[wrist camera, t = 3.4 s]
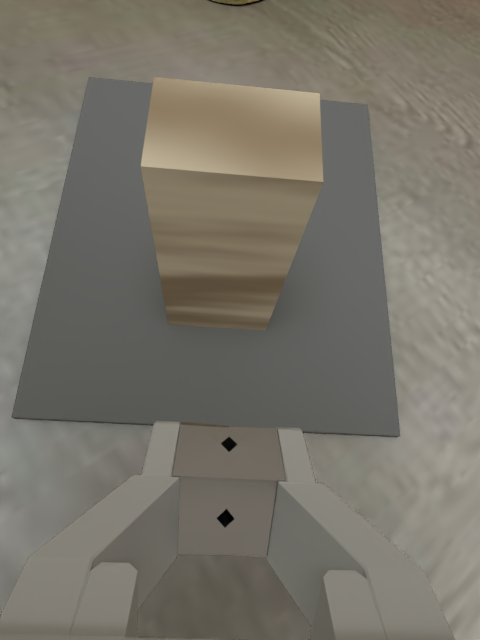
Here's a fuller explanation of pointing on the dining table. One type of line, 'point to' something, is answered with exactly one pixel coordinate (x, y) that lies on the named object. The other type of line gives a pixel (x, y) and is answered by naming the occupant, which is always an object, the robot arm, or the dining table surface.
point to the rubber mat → (196, 341)
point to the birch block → (228, 195)
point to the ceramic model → (235, 1)
